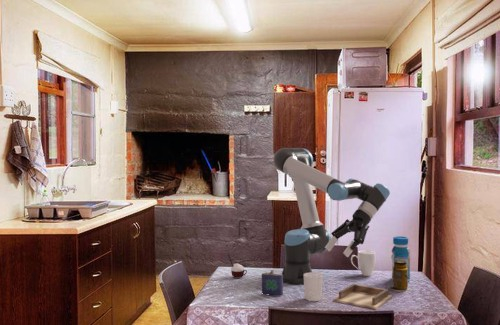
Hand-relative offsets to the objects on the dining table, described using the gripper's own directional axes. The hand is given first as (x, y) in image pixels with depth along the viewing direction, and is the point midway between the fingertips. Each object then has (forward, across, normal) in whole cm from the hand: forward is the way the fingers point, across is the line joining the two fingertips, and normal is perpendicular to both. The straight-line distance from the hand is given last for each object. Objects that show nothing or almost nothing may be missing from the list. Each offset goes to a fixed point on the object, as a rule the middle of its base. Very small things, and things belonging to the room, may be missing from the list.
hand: (335, 252), depth 191 cm
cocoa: (+31, +46, +6) cm, 56 cm away
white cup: (+21, +1, -5) cm, 21 cm away
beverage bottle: (-16, +8, -42) cm, 46 cm away
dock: (+8, -8, -18) cm, 21 cm away
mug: (-9, +23, -35) cm, 42 cm away
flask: (+30, +13, +4) cm, 33 cm away
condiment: (-8, -3, -35) cm, 36 cm away
